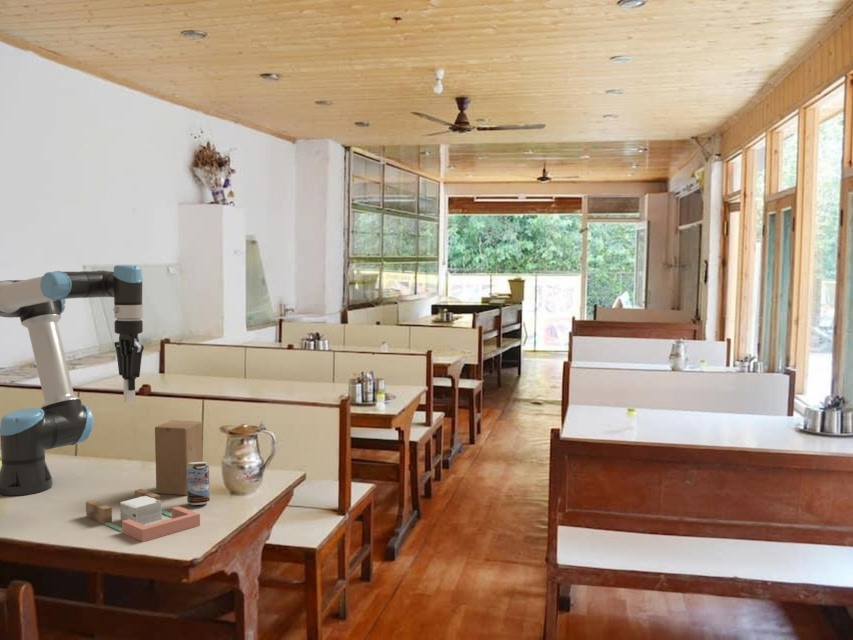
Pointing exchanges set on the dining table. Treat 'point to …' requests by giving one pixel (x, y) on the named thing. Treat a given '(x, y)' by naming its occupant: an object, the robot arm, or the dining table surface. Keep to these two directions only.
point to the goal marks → (121, 527)
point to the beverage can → (198, 483)
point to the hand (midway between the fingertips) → (129, 401)
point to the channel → (105, 512)
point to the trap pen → (162, 525)
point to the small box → (141, 510)
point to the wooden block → (176, 454)
